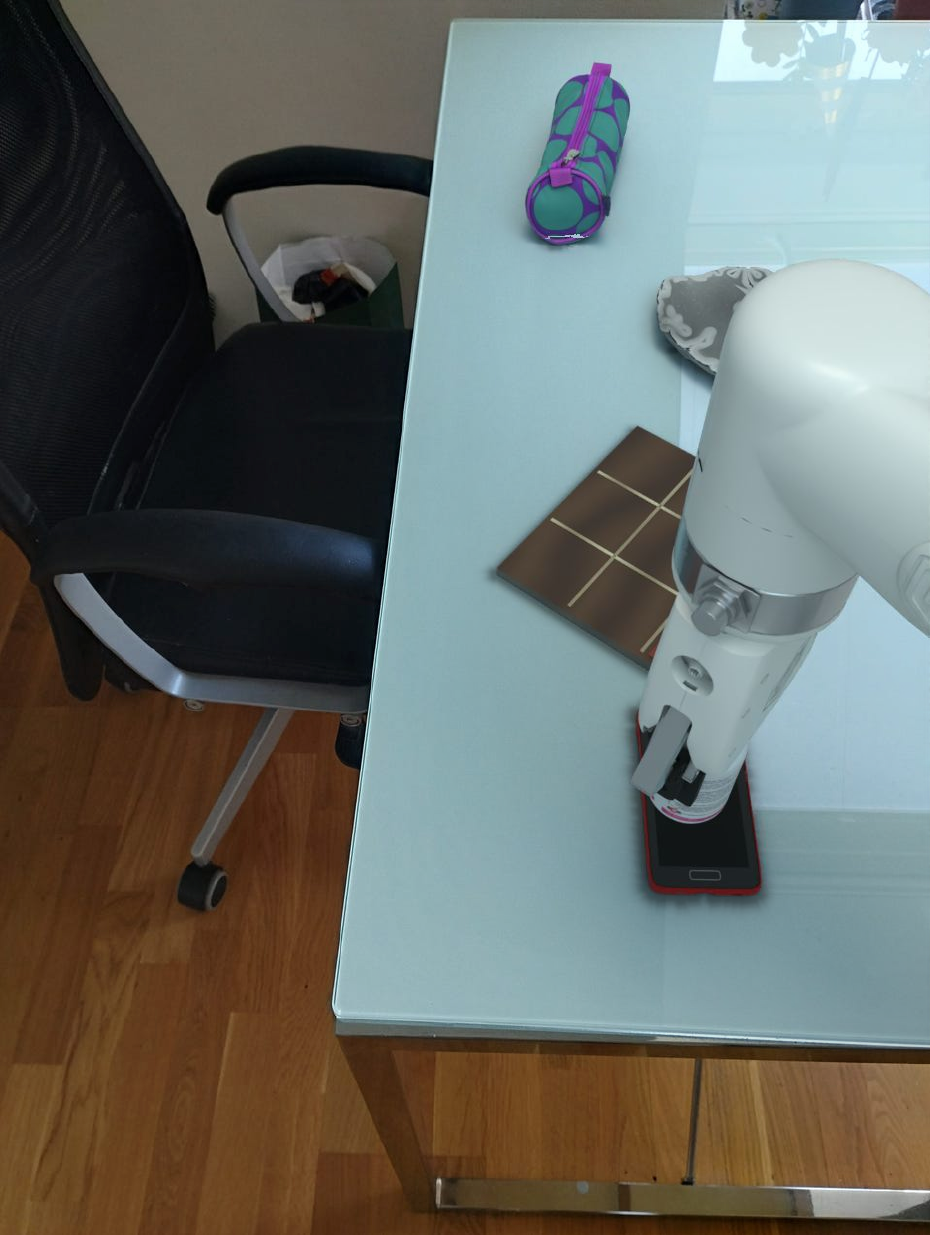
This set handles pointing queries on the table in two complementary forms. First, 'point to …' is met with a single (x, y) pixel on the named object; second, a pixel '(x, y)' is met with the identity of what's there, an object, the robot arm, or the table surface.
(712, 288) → the brain slice
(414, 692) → the table surface
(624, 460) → the grid board
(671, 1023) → the table surface
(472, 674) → the table surface
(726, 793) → the pill bottle
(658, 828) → the cell phone
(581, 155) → the pencil case
